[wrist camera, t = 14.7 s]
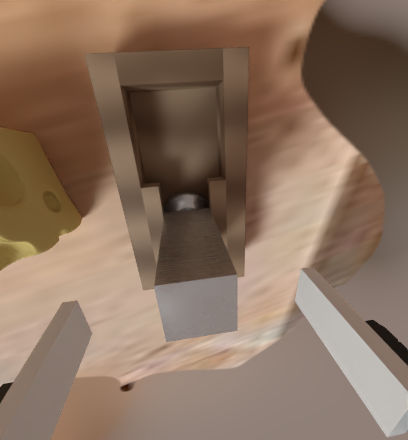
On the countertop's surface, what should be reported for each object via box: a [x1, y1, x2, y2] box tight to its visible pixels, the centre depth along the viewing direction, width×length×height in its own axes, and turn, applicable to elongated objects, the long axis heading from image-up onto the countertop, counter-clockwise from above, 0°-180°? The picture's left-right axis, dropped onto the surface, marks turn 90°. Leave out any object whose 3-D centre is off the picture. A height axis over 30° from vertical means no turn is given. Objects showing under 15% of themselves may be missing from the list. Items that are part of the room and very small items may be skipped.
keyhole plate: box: [84, 47, 249, 290], centre depth 22 cm, size 22×12×4 cm, turn 4°
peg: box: [154, 191, 237, 342], centre depth 18 cm, size 6×6×14 cm
